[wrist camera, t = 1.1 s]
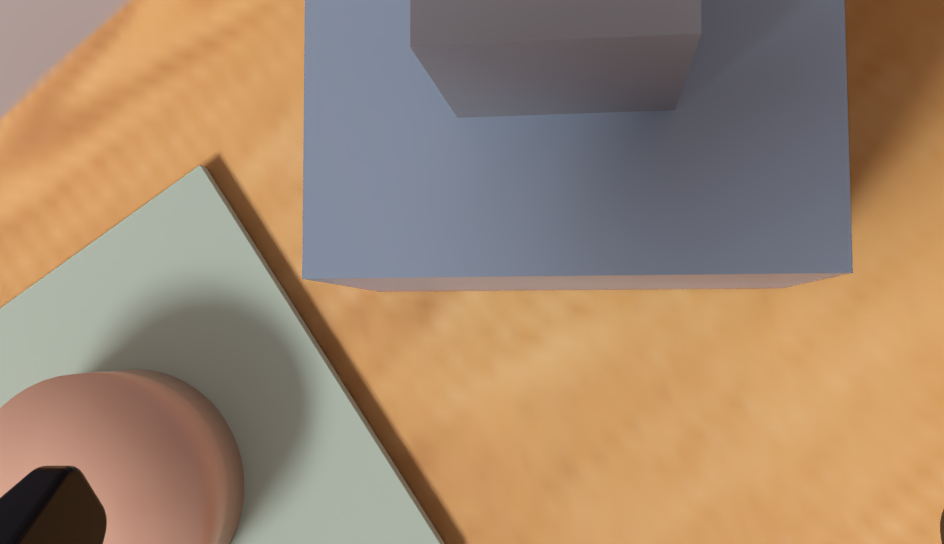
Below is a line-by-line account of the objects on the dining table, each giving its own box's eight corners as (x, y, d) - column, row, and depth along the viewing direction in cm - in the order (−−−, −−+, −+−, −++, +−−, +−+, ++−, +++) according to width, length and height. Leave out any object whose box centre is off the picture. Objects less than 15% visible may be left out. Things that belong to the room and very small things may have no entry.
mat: (453, 557, 22) (451, 561, 22) (74, 806, 23) (65, 814, 23) (206, 167, 24) (200, 165, 24) (-140, 415, 25) (-152, 417, 24)
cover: (783, 288, 22) (945, 251, 11) (378, 291, 23) (204, 262, 13) (773, -115, 22) (919, -487, 12) (380, -88, 24) (215, -401, 14)
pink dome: (288, 522, 23) (250, 546, 20) (100, 648, 23) (40, 687, 21) (167, 324, 23) (116, 323, 21) (-13, 450, 24) (-83, 464, 21)
